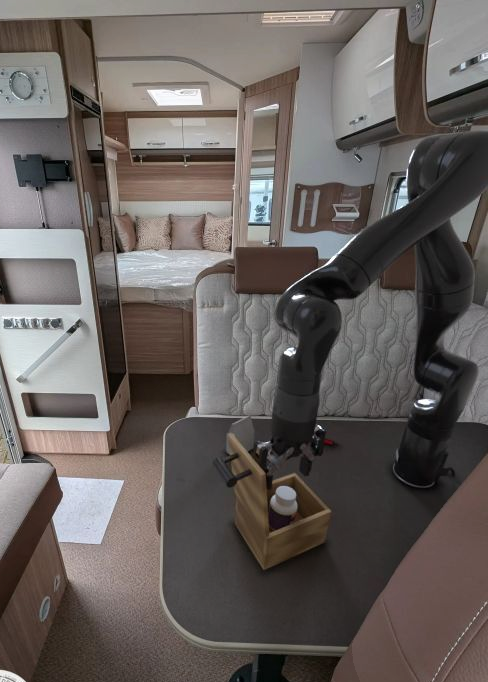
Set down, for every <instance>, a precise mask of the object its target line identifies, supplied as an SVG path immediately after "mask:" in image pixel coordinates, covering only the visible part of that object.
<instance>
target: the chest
mask: <svg viewBox="0 0 488 682" xmlns="http://www.w3.org/2000/svg"><path fill="white" fill-rule="evenodd" d="M280 486H287V487H290V488H292V489H293V490H294V491H295V492H296V500H295V501H296V502H297V513H296V517H295V522H294V523H293V524H291V525H288V526H286V527H283V528H281V529H279V530H276V531H274V532H271V533H269V536H268V537H265V536H264V535H263V533H262V532H261V530H260V529H259V527H258V526H257V524H256V523H255V521H254V520H253V519H252V517H251V516H250V514H249V513H248V511H247V510H246V508H245V507H244V505H243V504H242V503H241V501H240V500H239V498H238V497H237V495H236V494H235V511H234V512H235V514H234V515H235V516H234V525H235V527H236V528H237V530H238V531H239V533H240V535H241V537H242V538H243V539H244V542H245V543H246V544H247V546H248V548H249V549H250V551H251V552H252V554H253V556H254V557H255V559H256V560H257V562H258V564H259V566H260V567H261V569H262V571H265V570H267V569H269V568H272V567H275V566H276V565H279V564H280V563H283V562H285V561H287V560H289V559H291V558H294V557H296V556H298V555H300V554H302V553H305V552H307V551H309V550H311V549H313V548H315V547H318V546H320V545H322V544H325V542H326V538H327V534H328V530H329V529H328V528H329V524H330V520H331V515H332V510H331V509H330V508H329V507H328V506H327V505H326V504H325V503H324V502H323V501H322V500H321V499H320V498H319V497H318V495H317V494H316V493H315V492H314V491H313V490H312V489H311V488H310V487H309V486H308V484H306V483H305V482H304V481H303V479H301V478H300V476H299V475H298V474H297V473H296V472H293V473H291V474H287V475H285V476H282V477H280V478H276V479H274V480H273V481H272V489H270V490H267V505H268V513H269V507H270V501H271V498H272V497H273V496H274V495H275V493H276V490H277V488H278V487H280Z"/></svg>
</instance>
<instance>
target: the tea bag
mask: <svg viewBox="0 0 488 682" xmlns="http://www.w3.org/2000/svg"><path fill="white" fill-rule="evenodd" d="M229 433H232V434H233V435H234V437H235V438H236V439H237V440H238V441H239V442H240V444H241V445H242V446H243V447H244V448H245V450H246V451H247V452H248V453H249V452H250V451H251V450H254V445H255V443H254V442H255V428H254V424H253V420H252V415H250V414H249V415H247V416H245V417H243V418H241V419H239V420H237V421H235V422H233V423H231V424H230V428H229V429H228V431H227V433H226V445H225V453H226V454H228V455H230V449H229V441H228V434H229Z"/></svg>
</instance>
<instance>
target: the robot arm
mask: <svg viewBox="0 0 488 682" xmlns="http://www.w3.org/2000/svg"><path fill="white" fill-rule="evenodd" d="M405 183H406V194H407V195H406V196H407V201H408V202H407V203H406V204H404V205H403V206H400V207H399V208H397V209H395V210H394V211H392V212H390V213H388V214H386V215H384V216H383V217H380V218H379V219H376V220H375V221H374V222H372V223H370V224H368V225H367V226H366V227H364V228H363V229H361V230H360V231H358V232H357V233H356V234H355V235H354V236H352V237H351V238H350V239H349V240H348V241H347V242H346V243H345V244H344V245H343V246H342V247H341V249H339V250H338V251H337V252H336V253H335V254H334V255H333V256H332V257H331V259H329V260H328V261H327V263H325V264H323V265H322V266H320V267H318V268H317V269H314V270H312V271H311V272H310V273H309V274H307V275H305V276H304V277H302V278H301V279H299V280H298V281H296V282H295V283H293V284H292V285H290V287H288V288H287V289H286V290H285V291H284V292H283V293H282V294H281V295H280V297H279V299H278V301H277V302H276V305H275V308H274V320H275V323H276V325H277V326H278V327H279V328H280V329H282V330H283V331H285V332H286V333H288V334H290V335H292V336H294V337H295V338H297V339H298V341H297V346H295V347H289V348H286V349H285V350H283V351H282V353H281V354H280V356H279V359H278V366H277V376H276V384H275V388H274V393H273V400H272V401H273V402H272V411H271V421H270V430H271V437H270V439H269V440H268V441H267V442H261V441H260V440H257V441H255V443H254V445H253V454H252V458H253V459H254V460H255V462H256V463H257V464H258V465H259V466H260V468H261V469H262V470H263V471H264V472H265V473H266V488H267V490H270V489H272V481H274V480H273V479H274V473H275V471H276V470H277V469H278V468H281V467H282V466H283V465H284V463H285V462H286V461H288V460H290V459H292V458H297V457H299V456H300V460H299V466H298V470H299V473H300V474H302V476H304V477H308V476H310V473H311V471H312V467H313V462H314V461H315V460H316V457H317V456H318V457H322V456H323V455H324V450H325V444H326V443H325V439H326V433H327V432H326V430H324V429H323V427H322V426H320V425H318V423H317V418H318V413H319V407H320V399H321V397H320V395H321V394H320V393H321V392H320V390H321V384H322V378H323V377H322V376H323V370H324V367H325V364H326V363H327V360H328V359H329V356H330V354H331V352H332V350H333V348H334V346H335V344H336V342H337V340H338V338H339V336H340V333H341V330H342V325H343V316H342V311H341V307H340V306H339V305H338V303H337V302H336V301H339V300H340V301H341V300H343V301H345V300H347V301H349V300H355V299H357V298H359V297H360V296H361V295H362V294H364V292H366V291H367V290H368V289H369V287H371V286H372V285H373V284H374V283H375V282H376V281H377V280H378V279H379V278H380V277H381V276H382V275H383V274H384V273H385V271H387V270H388V269H389V268H390V267H391V266H392V265H393V264H394V263H395V262H396V261H397V260H398V259H399V258H401V257H402V256H403V255H404V254H405V253H406V252H407V251H409V250H410V249H411V248H412V247H414V248H413V249H414V252H413V253H414V267H415V268H414V269H415V271H414V272H415V275H414V276H415V279H414V288H415V290H414V292H415V309H416V311H415V312H416V338H415V340H416V341H415V348H414V357H413V366H412V367H413V368H412V372H413V373H412V374H413V379H414V381H415V382H416V384H418V385H419V386H420V387H423V388H424V389H426V390H428V391H430V392H432V393H434V394H436V395H438V396H440V397H439V399H436V398H420V399H417V400H415V401H414V402H413V403H412V405H411V408H410V412H409V415H408V418H407V421H406V423H405V424H406V425H405V428H404V431H403V435H402V438H401V441H400V444H399V447H398V448H396V451H395V456H396V457H395V460H394V463H393V466H392V473H393V475H394V476H395V477H396V479H397V480H398V481H399V482H401V483H403V484H405V485H407V486H408V487H411V488H415V489H420V490H426V489H430V488H432V487H433V486H434V484H438V483H439V480H440V478H441V477H447V476H448V474H449V471H450V472H451V476H452V477H453V478H454V477H456V471H455V470H454V468H453V467H451V466H449V465H448V464H446V461H447V459H448V456H449V454H450V452H449V450H448V446H449V444H450V441H451V439H452V435H453V433H454V430H455V427H456V425H457V422H458V420H459V419H460V417H461V415H462V414H463V412H464V410H465V407H466V404H467V402H468V400H469V398H470V396H471V394H472V391H473V389H474V387H475V385H476V382H477V380H478V377H479V365H478V364H477V362H475V361H473V360H471V359H469V358H466V357H463V356H460V355H458V354H456V353H453V352H450V351H448V350H446V348H445V335H446V334H447V332H448V331H450V329H451V328H452V327H453V326H455V325H456V324H457V323H458V322H459V321H460V320H461V319H462V318H463V317H464V316H466V314H467V313H468V311H469V310H470V309H471V307H472V304H473V301H474V293H475V280H476V272H475V270H476V269H475V266H474V265H475V264H474V263H473V260H472V258H471V256H470V253H469V252H468V251H467V249H466V247H465V245H464V244H463V242H462V241H461V238H460V237H459V236H458V234H457V232H456V231H455V228H454V225H453V224H452V221H451V220H452V219H451V218H452V217H454V216H455V215H457V214H458V213H460V212H461V211H462V210H464V209H465V208H466V207H467V206H468V207H469V205H470V204H472V203H474V201H475V200H477V199H479V197H481V196H482V195H483V194H484V193H485V192H486V190H488V130H469V131H468V130H467V131H459V132H452V133H451V132H450V133H440V134H435V135H430V136H427V137H425V138H423V139H422V140H421V141H419V142H418V143H417V145H416V146H415V147H414V148H413V151H412V152H411V155H410V157H409V160H408V163H407V169H406V181H405ZM309 443H310V444H309ZM308 445H309V447H308ZM275 454H276V455H277V456H278V458H276V457H275ZM301 454H302V455H301ZM270 463H271V464H270ZM269 465H270V466H269Z"/></svg>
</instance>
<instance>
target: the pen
mask: <svg viewBox="0 0 488 682" xmlns="http://www.w3.org/2000/svg"><path fill="white" fill-rule="evenodd" d="M324 444H328V445H332V446H338V447H339V443H335V441H334V440H332V439H329V438H325V443H324Z"/></svg>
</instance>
